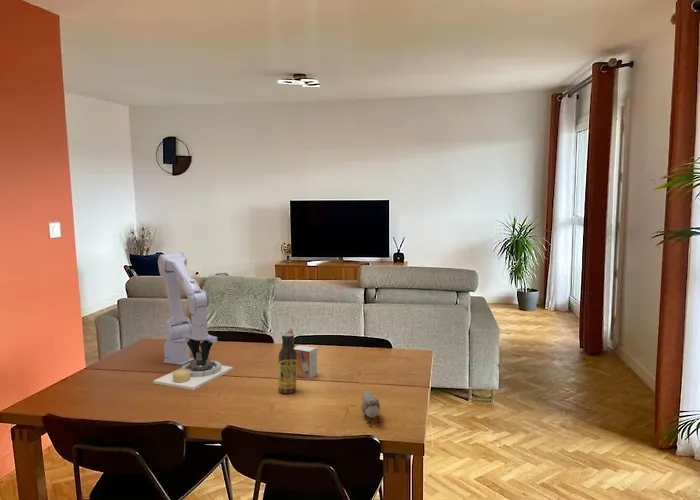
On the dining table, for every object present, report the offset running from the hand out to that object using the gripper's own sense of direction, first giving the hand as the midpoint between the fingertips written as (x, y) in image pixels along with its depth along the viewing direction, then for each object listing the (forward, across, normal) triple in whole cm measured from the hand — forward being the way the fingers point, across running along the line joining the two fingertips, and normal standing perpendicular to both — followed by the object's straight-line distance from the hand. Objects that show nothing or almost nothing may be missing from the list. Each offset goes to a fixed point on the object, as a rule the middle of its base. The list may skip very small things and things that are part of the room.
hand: (200, 359), depth 203 cm
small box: (+6, -38, -12) cm, 40 cm away
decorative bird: (+6, -74, +12) cm, 75 cm away
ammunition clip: (+6, -23, -26) cm, 35 cm away
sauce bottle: (+6, -40, +4) cm, 41 cm away
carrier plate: (+5, 0, +4) cm, 7 cm away
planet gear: (+3, 0, 0) cm, 3 cm away
